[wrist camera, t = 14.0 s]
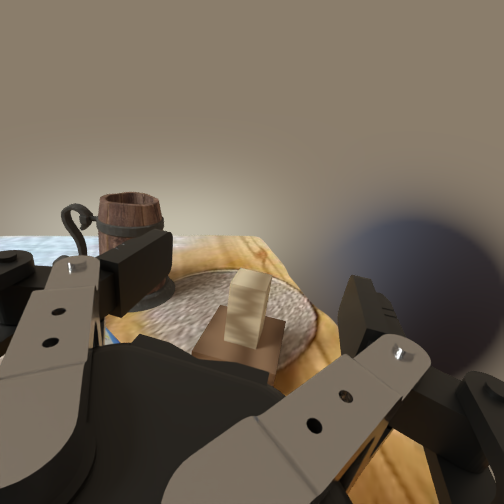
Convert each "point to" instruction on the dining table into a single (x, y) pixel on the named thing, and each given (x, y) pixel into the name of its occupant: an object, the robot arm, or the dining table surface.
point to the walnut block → (220, 350)
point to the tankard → (121, 232)
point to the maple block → (247, 307)
